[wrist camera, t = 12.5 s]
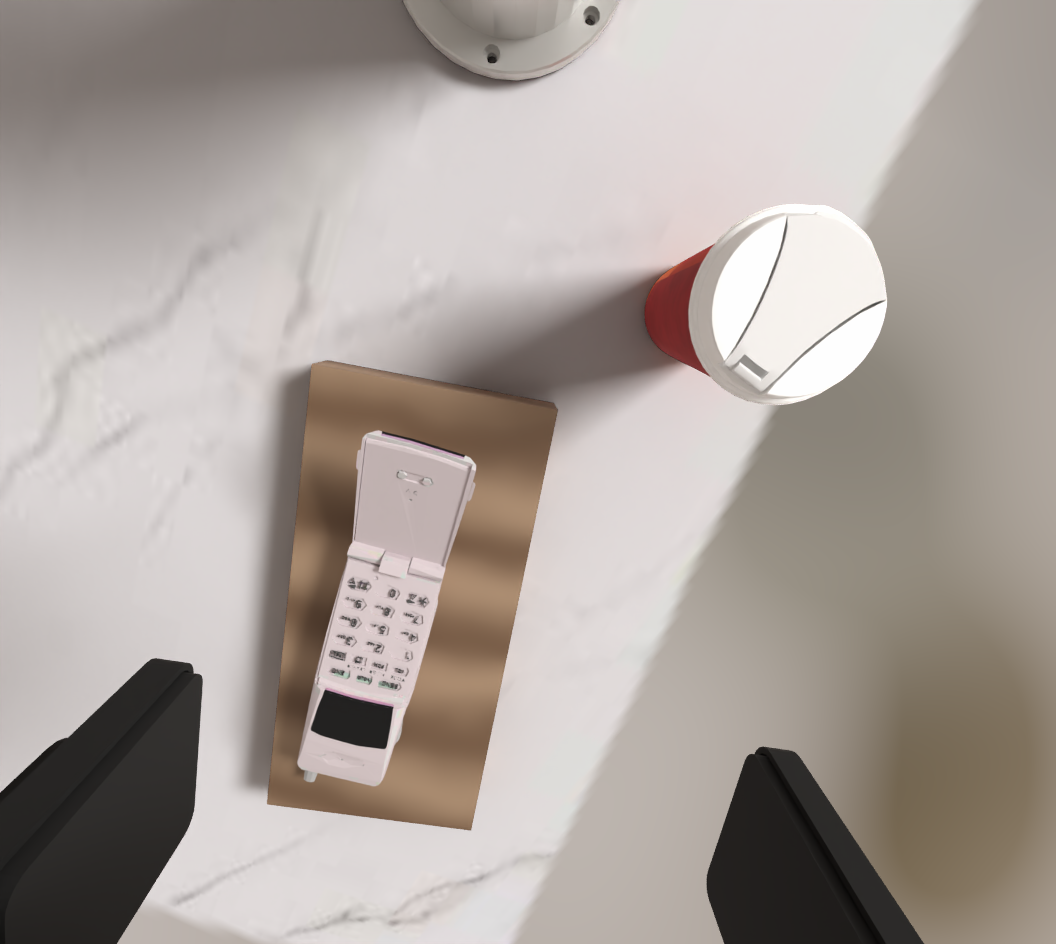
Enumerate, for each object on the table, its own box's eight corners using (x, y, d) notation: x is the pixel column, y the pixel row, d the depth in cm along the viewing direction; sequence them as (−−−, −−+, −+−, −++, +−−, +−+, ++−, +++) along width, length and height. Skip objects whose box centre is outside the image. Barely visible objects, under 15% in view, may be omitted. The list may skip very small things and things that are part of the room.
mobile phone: (482, 460, 28) (363, 864, 34) (488, 437, 34) (385, 786, 40) (360, 424, 28) (260, 840, 34) (386, 407, 34) (297, 765, 39)
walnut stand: (327, 360, 36) (311, 364, 33) (553, 403, 37) (557, 410, 34) (283, 771, 43) (266, 804, 40) (473, 796, 44) (470, 830, 41)
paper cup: (698, 400, 37) (808, 447, 24) (600, 328, 36) (657, 333, 22) (779, 294, 36) (946, 278, 22) (681, 214, 34) (794, 146, 21)
